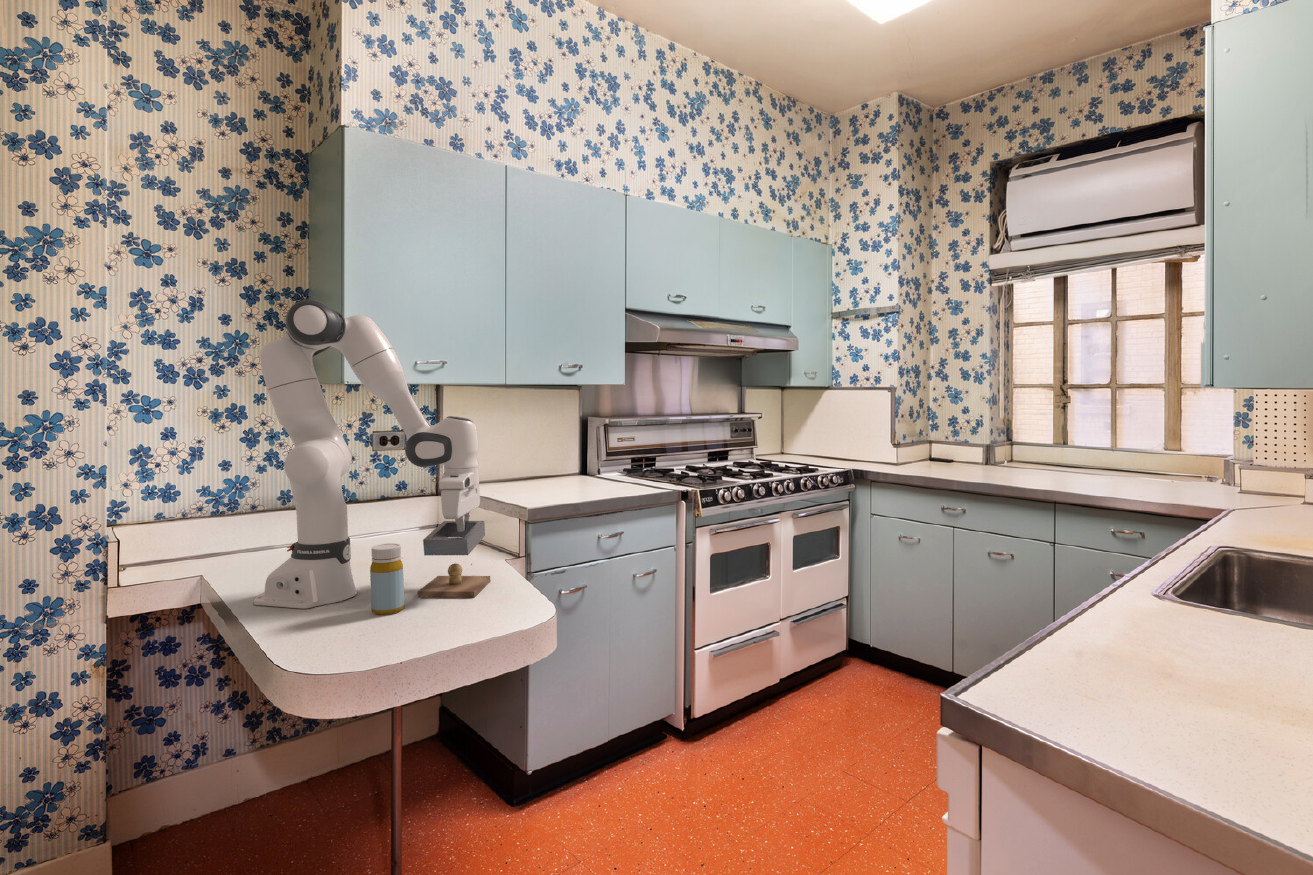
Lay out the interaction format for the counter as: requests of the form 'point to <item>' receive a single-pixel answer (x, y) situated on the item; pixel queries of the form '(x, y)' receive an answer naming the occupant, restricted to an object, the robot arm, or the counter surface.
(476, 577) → the keeper
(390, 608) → the bottle
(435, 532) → the grey open tray
